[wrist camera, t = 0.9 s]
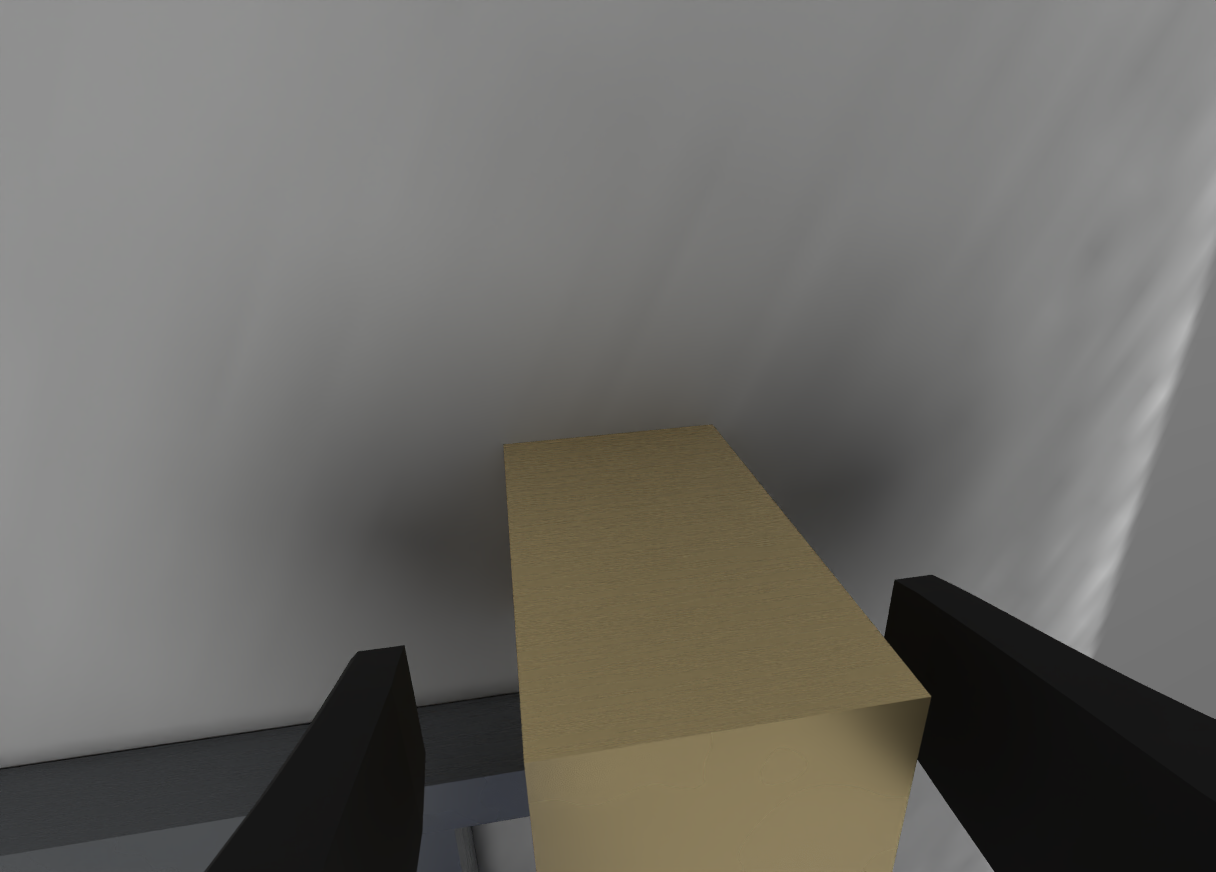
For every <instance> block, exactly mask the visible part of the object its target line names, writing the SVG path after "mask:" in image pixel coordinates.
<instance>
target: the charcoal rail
mask: <svg viewBox="0 0 1216 872" xmlns="http://www.w3.org/2000/svg"><path fill="white" fill-rule="evenodd" d="M417 712H418V717H419V722H420V727H421V732H422V737H423V742H424V747H425V752H426V760H425V789H424V811H423V831H422V838H421V846H420V853H419V860H418V867H417V872H479V869H478V863H477V857H476V852H475V846H474V840H473V834H472V828H471V826H475V825H480V824H486V823H492V822H498V821H503V820H509V819H515V818H521V817H526V816H530V811H529V802H528V793H527V785H526V776H525V767H524V754H523V739H522V724H521V708H520V693H517V694H510V695H503V696H496V697H490V698H483V699H476V700H469V701H463V702H456V703H449V704H442V705H435V706H429V707H422V708H417ZM309 725H310V724H307V725H300V726H293V727H286V728H279V729H273V730H266V731H259V732H252V733H246V734H239V735H232V736H225V737H218V738H212V739H205V740H198V741H191V742H185V743H178V744H171V745H164V746H157V747H151V748H144V749H137V750H130V751H124V752H117V753H110V754H103V755H96V756H90V757H83V758H76V759H69V760H63V761H56V762H49V763H42V764H35V765H29V766H22V767H15V768H8V769H2V770H0V872H204V871H205V870H206V868H207V867H208V866H209V864H210V863H211V862H212V861H213V859H214V858H215V857H216V855H217V854H218V853H219V851H220V850H221V849H222V847H223V846H224V845H225V843H226V842H227V841H228V839H229V838H230V837H231V835H232V834H233V833H234V832H235V830H236V829H237V828H238V826H239V825H240V824H241V822H242V821H243V820H244V818H245V817H246V816H247V814H248V813H249V812H250V810H251V809H252V808H253V806H254V805H255V804H256V802H257V801H258V799H259V798H260V797H261V795H262V794H263V792H264V791H265V790H266V788H267V787H268V785H269V784H270V782H271V781H272V779H273V778H274V777H275V775H276V774H277V772H278V771H279V769H280V768H281V766H282V765H283V764H284V762H285V761H286V759H287V758H288V756H289V755H290V753H291V752H292V751H293V749H294V748H295V746H296V745H297V743H298V742H299V740H300V739H301V737H302V736H303V734H304V733H305V731H306V730H307V728H308V727H309Z"/></svg>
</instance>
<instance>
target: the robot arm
mask: <svg viewBox="0 0 1216 872" xmlns="http://www.w3.org/2000/svg"><path fill="white" fill-rule="evenodd" d="M884 638H885V640H886V641H887V642H888V643H889V645H890V646H891V647H892V648H893V650H894V651H895V652H896V653H897V655H898V656H899V657H900V658H901V659H902V661H903V662H904V663H905V664H906V666H907V667H908V668H909V669H910V671H911V672H912V673H913V674H914V676H915V677H916V678H917V679H918V681H919V682H920V683H921V684H922V686H923V687H924V688H925V689H926V691H927V692H928V693H929V694H930V695H931V700H930V705H929V709H928V714H927V718H926V723H925V727H924V732H923V736H922V741H921V745H920V749H919V754H918V758H917V760H918V761H919V763H920V764H921V766H922V767H923V768H924V770H925V771H926V773H927V774H928V776H929V777H930V779H931V780H932V782H933V783H934V785H935V786H936V788H937V789H938V791H939V792H940V794H941V795H942V796H943V798H944V799H945V801H946V802H947V804H948V805H949V807H950V808H951V810H952V811H953V812H954V814H955V815H956V817H957V818H958V820H959V821H960V823H961V824H962V825H963V827H964V828H965V830H966V831H967V833H968V834H969V836H970V837H971V838H972V840H973V841H974V843H975V844H976V846H977V847H978V849H979V850H980V852H981V853H982V854H983V856H984V857H985V859H986V860H987V862H988V863H989V865H990V866H991V867H992V869H993V870H994V872H1216V719H1214V718H1211V717H1209V716H1207V715H1205V714H1203V713H1201V712H1199V711H1196V710H1194V709H1192V708H1190V707H1188V706H1186V705H1184V704H1182V703H1180V702H1178V701H1176V700H1173V699H1172V698H1170V697H1167V696H1165V695H1163V694H1161V693H1159V692H1157V691H1155V690H1153V689H1151V688H1149V687H1147V686H1145V685H1143V684H1141V683H1139V682H1137V681H1135V680H1133V679H1131V678H1129V677H1127V676H1125V675H1123V674H1121V673H1119V672H1117V671H1115V670H1113V669H1111V668H1109V667H1107V666H1105V665H1103V664H1101V663H1099V662H1097V661H1095V660H1094V659H1092V658H1090V657H1088V656H1086V655H1084V654H1082V653H1080V652H1078V651H1077V650H1075V649H1073V648H1071V647H1069V646H1067V645H1065V644H1063V643H1061V642H1060V641H1058V640H1056V639H1054V638H1052V637H1050V636H1048V635H1047V634H1045V633H1043V632H1041V631H1039V630H1037V629H1035V628H1034V627H1032V626H1030V625H1028V624H1026V623H1024V622H1022V621H1021V620H1019V619H1017V618H1015V617H1013V616H1011V615H1010V614H1008V613H1006V612H1004V611H1002V610H1000V609H998V608H997V607H995V606H993V605H991V604H989V603H987V602H985V601H983V600H982V599H980V598H978V597H976V596H974V595H972V594H970V593H968V592H966V591H964V590H962V589H960V588H959V587H957V586H955V585H953V584H950V583H948V582H946V581H944V580H942V579H940V578H938V577H936V576H933V575H927V576H919V577H912V578H904V579H897V580H895V581H894V586H893V592H892V597H891V603H890V608H889V614H888V619H887V625H886V630H885V636H884ZM425 760H426V752H425V747H424V742H423V737H422V732H421V727H420V722H419V717H418V712H417V707H416V702H415V697H414V692H413V686H412V681H411V676H410V671H409V666H408V661H407V656H406V651H405V646H404V645H403V646H396V647H389V648H381V649H374V650H366V651H359V652H357V653H356V654H355V656H354V657H353V658H352V659H351V660H350V662H349V663H348V665H347V667H346V668H345V670H344V672H343V673H342V675H341V676H340V678H339V680H338V681H337V683H336V684H335V686H334V688H333V689H332V691H331V693H330V694H329V696H328V697H327V699H326V700H325V702H324V704H323V705H322V707H321V708H320V710H319V711H318V713H317V714H316V716H315V718H314V719H313V721H312V722H311V724H310V725H309V727H308V728H307V730H306V731H305V733H304V734H303V736H302V737H301V739H300V740H299V742H298V743H297V745H296V746H295V748H294V749H293V751H292V752H291V753H290V755H289V756H288V758H287V759H286V761H285V762H284V764H283V765H282V766H281V768H280V769H279V771H278V772H277V774H276V775H275V777H274V778H273V779H272V781H271V782H270V784H269V785H268V787H267V788H266V790H265V791H264V792H263V794H262V795H261V797H260V798H259V799H258V801H257V802H256V804H255V805H254V806H253V808H252V809H251V810H250V812H249V813H248V814H247V816H246V817H245V818H244V820H243V821H242V822H241V824H240V825H239V826H238V828H237V829H236V830H235V832H234V833H233V834H232V835H231V837H230V838H229V839H228V841H227V842H226V843H225V845H224V846H223V847H222V849H221V850H220V851H219V853H218V854H217V855H216V857H215V858H214V859H213V861H212V862H211V863H210V864H209V866H208V867H207V868H206V870H205V871H204V872H417V867H418V860H419V853H420V846H421V838H422V831H423V811H424V789H425Z"/></svg>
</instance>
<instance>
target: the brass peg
mask: <svg viewBox="0 0 1216 872" xmlns="http://www.w3.org/2000/svg"><path fill="white" fill-rule="evenodd" d="M504 460H505V476H506V491H507V507H508V522H509V538H510V553H511V569H512V584H513V600H514V615H515V631H516V646H517V662H518V677H519V693H520V708H521V724H522V739H523V754H524V767H525V776H526V785H527V793H528V802H529V811H530V820H531V828H532V837H533V846H534V855H535V863H536V872H892V870H893V866H894V861H895V857H896V852H897V848H898V843H899V839H900V834H901V830H902V825H903V821H904V816H905V812H906V808H907V803H908V799H909V794H910V790H911V785H912V781H913V776H914V772H915V767H916V763H917V758H918V754H919V749H920V745H921V741H922V736H923V732H924V727H925V723H926V718H927V714H928V709H929V705H930V700H931V695H930V694H929V693H928V692H927V691H926V689H925V688H924V687H923V686H922V684H921V683H920V682H919V681H918V679H917V678H916V677H915V676H914V674H913V673H912V672H911V671H910V669H909V668H908V667H907V666H906V664H905V663H904V662H903V661H902V659H901V658H900V657H899V656H898V655H897V653H896V652H895V651H894V650H893V648H892V647H891V646H890V645H889V643H888V642H887V641H886V640H885V638H884V637H883V636H882V635H881V633H880V632H879V631H878V630H877V628H876V627H875V626H874V625H873V623H872V622H871V621H870V620H869V619H868V617H867V616H866V615H865V614H864V612H863V611H862V610H861V609H860V607H859V606H858V605H857V604H856V602H855V601H854V600H853V599H852V597H851V596H850V595H849V594H848V592H847V591H846V590H845V589H844V587H843V586H842V585H841V584H840V583H839V581H838V580H837V579H836V578H835V576H834V575H833V574H832V573H831V571H830V570H829V569H828V568H827V566H826V565H825V564H824V563H823V561H822V560H821V559H820V558H819V556H818V555H817V554H816V553H815V551H814V550H813V549H812V548H811V547H810V545H809V544H808V543H807V542H806V540H805V539H804V538H803V537H802V535H801V534H800V533H799V532H798V530H797V529H796V528H795V527H794V525H793V524H792V523H791V522H790V520H789V519H788V518H787V517H786V515H785V514H784V513H783V512H782V511H781V509H780V508H779V507H778V506H777V504H776V503H775V502H774V501H773V499H772V498H771V497H770V496H769V494H768V493H767V492H766V491H765V489H764V488H763V487H762V486H761V484H760V483H759V482H758V481H757V479H756V478H755V477H754V476H753V475H752V473H751V472H750V471H749V470H748V468H747V467H746V466H745V465H744V463H743V462H742V461H741V460H740V458H739V457H738V456H737V455H736V453H735V452H734V451H733V450H732V448H731V447H730V446H729V445H728V443H727V442H726V441H725V440H724V439H723V437H722V436H721V435H720V434H719V432H718V431H717V430H716V429H715V427H714V426H713V425H702V426H691V427H681V428H670V429H660V430H650V431H639V432H629V433H618V434H608V435H597V436H587V437H576V438H566V439H556V440H545V441H535V442H525V443H514V444H504Z"/></svg>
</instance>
